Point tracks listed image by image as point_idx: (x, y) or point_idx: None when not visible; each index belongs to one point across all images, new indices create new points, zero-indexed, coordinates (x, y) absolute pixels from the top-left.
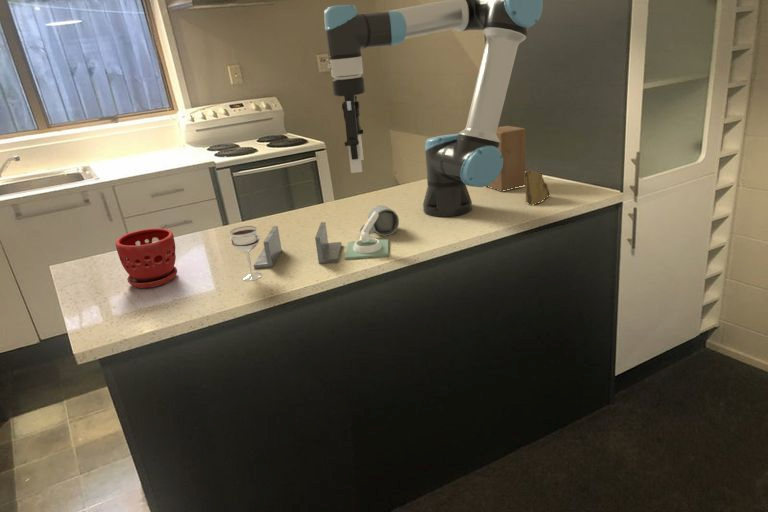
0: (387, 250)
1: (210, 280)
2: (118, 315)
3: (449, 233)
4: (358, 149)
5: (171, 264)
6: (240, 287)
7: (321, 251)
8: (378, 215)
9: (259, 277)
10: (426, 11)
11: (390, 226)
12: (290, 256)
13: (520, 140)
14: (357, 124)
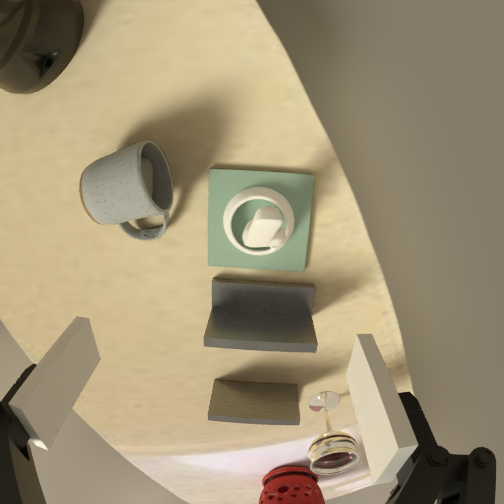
0: (290, 174)
1: (315, 438)
2: (369, 471)
3: (195, 22)
4: (406, 426)
5: (301, 480)
6: None
7: (313, 325)
8: (274, 207)
9: (333, 393)
10: None
11: (148, 163)
12: (251, 365)
13: None
14: (23, 489)
